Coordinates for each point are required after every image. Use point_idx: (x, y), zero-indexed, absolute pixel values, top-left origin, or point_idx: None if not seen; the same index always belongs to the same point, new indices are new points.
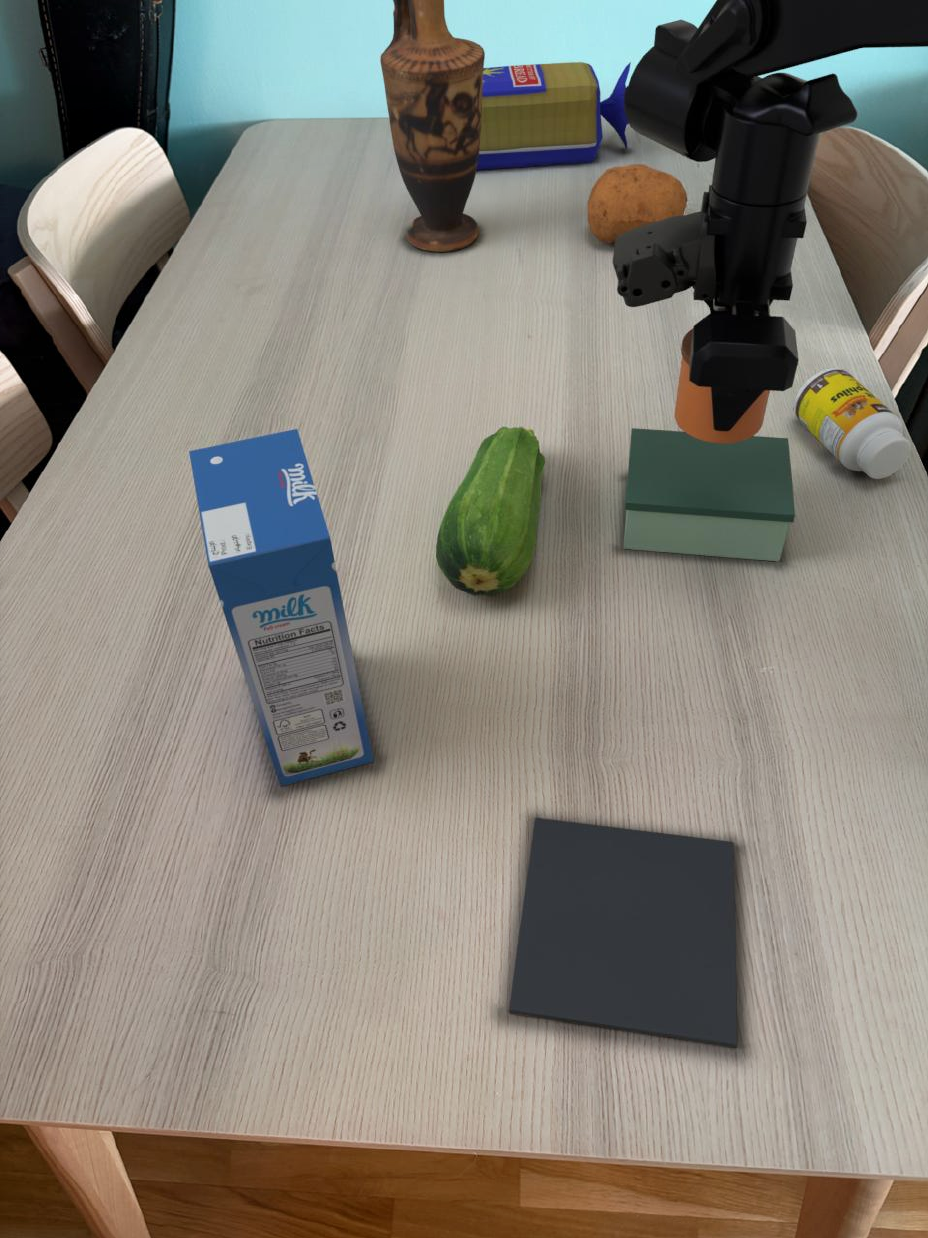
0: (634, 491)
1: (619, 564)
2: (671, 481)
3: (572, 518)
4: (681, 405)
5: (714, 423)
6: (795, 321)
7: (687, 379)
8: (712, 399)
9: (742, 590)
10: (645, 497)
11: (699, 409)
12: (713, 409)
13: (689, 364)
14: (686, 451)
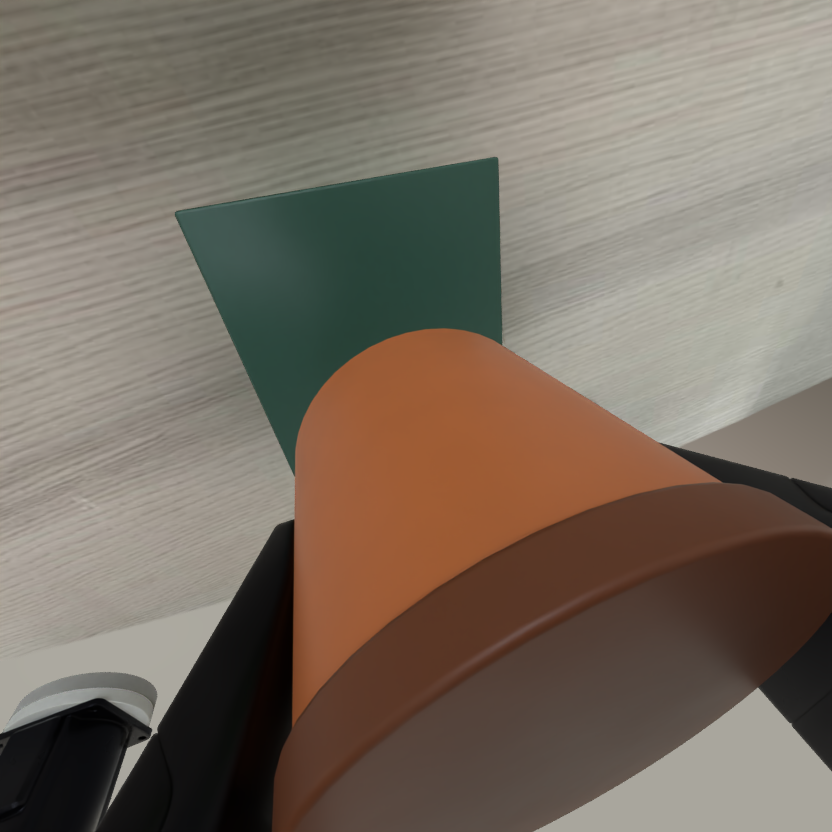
0: (233, 228)
1: (169, 221)
2: (318, 314)
3: (262, 55)
4: (356, 402)
5: (262, 552)
6: (779, 354)
7: (367, 515)
8: (159, 725)
9: (231, 434)
10: (225, 265)
11: (301, 505)
12: (214, 634)
13: (359, 662)
14: (435, 318)
